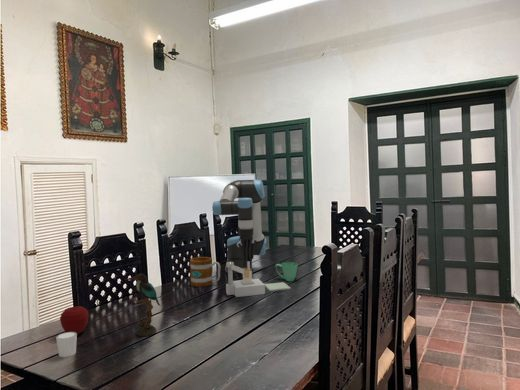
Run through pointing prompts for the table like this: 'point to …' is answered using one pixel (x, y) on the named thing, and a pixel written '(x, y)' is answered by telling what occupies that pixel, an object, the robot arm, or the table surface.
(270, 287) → the mat
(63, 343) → the shot glass
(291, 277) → the mug
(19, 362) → the table surface
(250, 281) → the plug
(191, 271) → the mug
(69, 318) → the apple
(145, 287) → the sculpture
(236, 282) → the socket
